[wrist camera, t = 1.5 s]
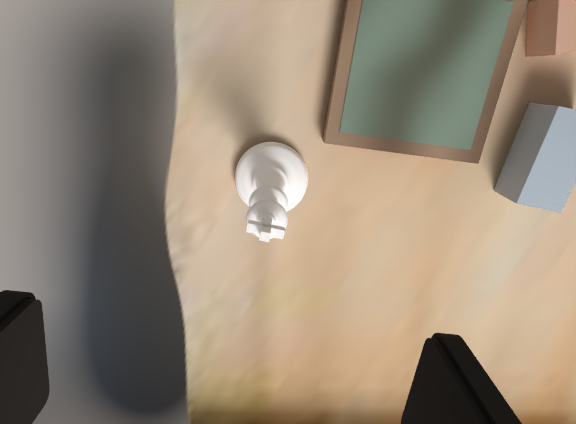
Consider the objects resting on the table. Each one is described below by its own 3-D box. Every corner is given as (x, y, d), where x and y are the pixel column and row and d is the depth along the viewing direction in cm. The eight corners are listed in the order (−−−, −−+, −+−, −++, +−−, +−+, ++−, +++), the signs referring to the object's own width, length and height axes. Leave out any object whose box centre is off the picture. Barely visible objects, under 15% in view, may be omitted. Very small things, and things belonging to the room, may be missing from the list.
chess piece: (242, 134, 25) (218, 170, 16) (315, 150, 26) (334, 195, 16) (229, 204, 27) (200, 275, 17) (298, 218, 27) (306, 295, 18)
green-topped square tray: (519, -8, 23) (532, -13, 21) (469, 159, 26) (478, 163, 25) (351, -35, 22) (355, -41, 21) (322, 140, 25) (324, 143, 24)
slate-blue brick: (527, 102, 25) (559, 106, 22) (570, 112, 25) (606, 117, 22) (492, 189, 27) (516, 203, 24) (532, 198, 27) (560, 212, 24)
